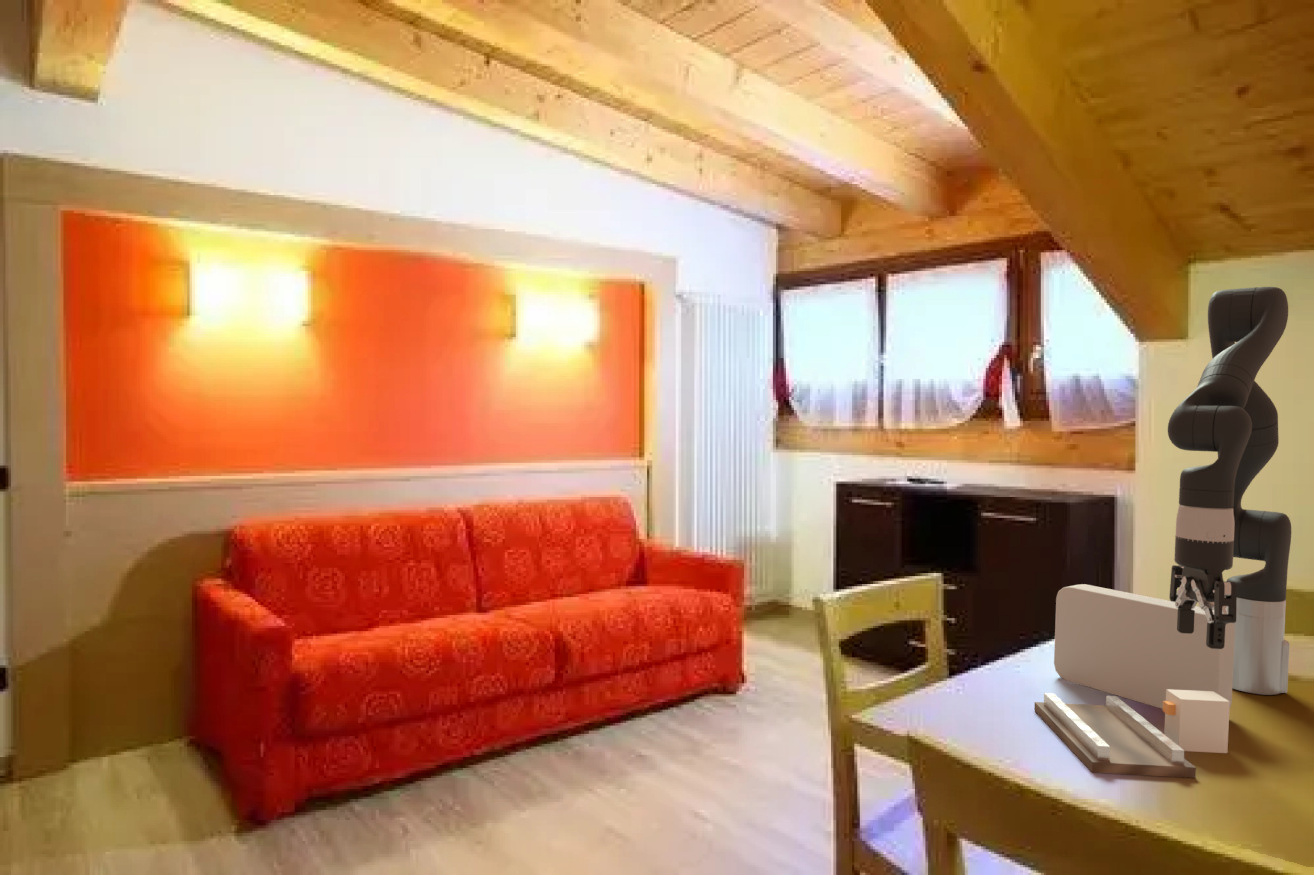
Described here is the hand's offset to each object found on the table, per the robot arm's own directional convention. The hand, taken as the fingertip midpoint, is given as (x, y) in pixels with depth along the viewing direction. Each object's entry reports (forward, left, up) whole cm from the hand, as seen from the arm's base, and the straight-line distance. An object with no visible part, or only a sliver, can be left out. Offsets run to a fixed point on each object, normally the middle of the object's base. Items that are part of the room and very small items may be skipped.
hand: (1199, 640), depth 130 cm
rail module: (0, 0, -17) cm, 17 cm away
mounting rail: (+13, 0, -15) cm, 20 cm away
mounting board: (+13, 0, -17) cm, 21 cm away
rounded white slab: (-1, -22, -17) cm, 28 cm away
